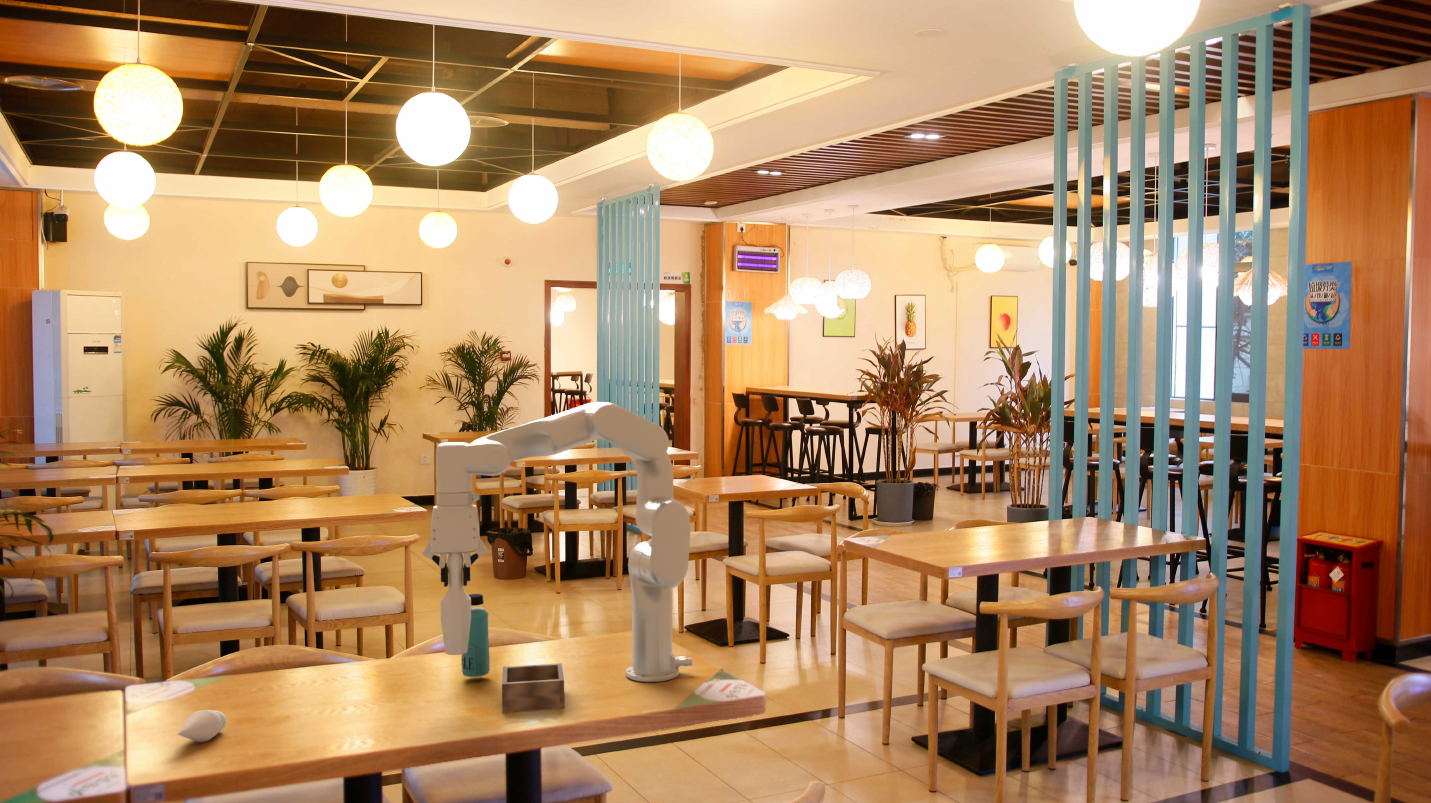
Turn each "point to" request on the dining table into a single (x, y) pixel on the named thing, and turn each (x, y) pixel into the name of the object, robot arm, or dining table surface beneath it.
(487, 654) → the beverage bottle
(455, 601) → the low poly bottle
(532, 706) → the walnut box
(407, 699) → the dining table surface
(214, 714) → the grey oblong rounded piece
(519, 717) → the dining table surface
